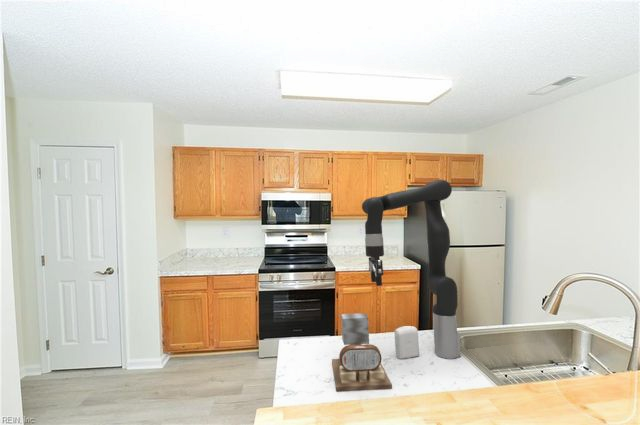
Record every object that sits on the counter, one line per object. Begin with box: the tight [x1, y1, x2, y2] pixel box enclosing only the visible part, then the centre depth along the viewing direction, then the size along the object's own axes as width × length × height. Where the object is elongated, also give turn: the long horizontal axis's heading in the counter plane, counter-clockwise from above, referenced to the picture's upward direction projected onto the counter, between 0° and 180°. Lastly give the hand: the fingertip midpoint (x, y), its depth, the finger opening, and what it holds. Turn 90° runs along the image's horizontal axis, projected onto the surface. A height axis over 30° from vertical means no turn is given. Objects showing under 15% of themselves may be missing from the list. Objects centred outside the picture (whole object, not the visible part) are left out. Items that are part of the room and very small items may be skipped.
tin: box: [338, 343, 382, 371], centre depth 97 cm, size 15×3×8 cm, turn 92°
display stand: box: [331, 312, 393, 392], centre depth 103 cm, size 19×20×20 cm
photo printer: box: [394, 325, 420, 360], centre depth 116 cm, size 10×4×12 cm, turn 104°
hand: (376, 283), depth 113 cm, fingers open, 8 cm apart
